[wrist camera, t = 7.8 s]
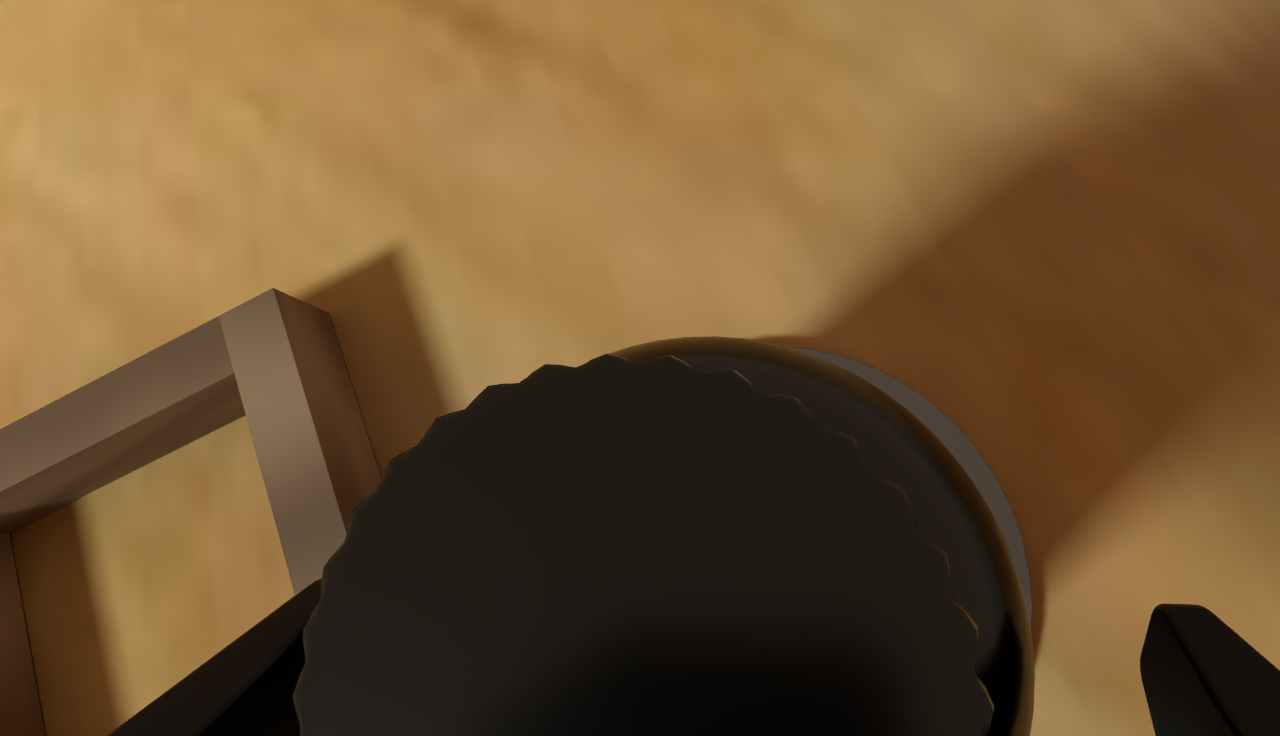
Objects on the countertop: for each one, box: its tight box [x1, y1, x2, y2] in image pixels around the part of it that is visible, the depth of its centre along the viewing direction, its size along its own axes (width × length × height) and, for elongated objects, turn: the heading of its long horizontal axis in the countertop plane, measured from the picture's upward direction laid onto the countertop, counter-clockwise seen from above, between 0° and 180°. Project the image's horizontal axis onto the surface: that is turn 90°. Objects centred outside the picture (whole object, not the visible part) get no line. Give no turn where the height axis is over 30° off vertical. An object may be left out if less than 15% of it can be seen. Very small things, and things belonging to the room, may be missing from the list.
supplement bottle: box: [293, 336, 1035, 736], centre depth 11 cm, size 7×7×12 cm
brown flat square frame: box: [0, 288, 382, 736], centre depth 19 cm, size 12×12×2 cm
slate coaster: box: [788, 347, 1032, 629], centre depth 17 cm, size 10×10×1 cm
